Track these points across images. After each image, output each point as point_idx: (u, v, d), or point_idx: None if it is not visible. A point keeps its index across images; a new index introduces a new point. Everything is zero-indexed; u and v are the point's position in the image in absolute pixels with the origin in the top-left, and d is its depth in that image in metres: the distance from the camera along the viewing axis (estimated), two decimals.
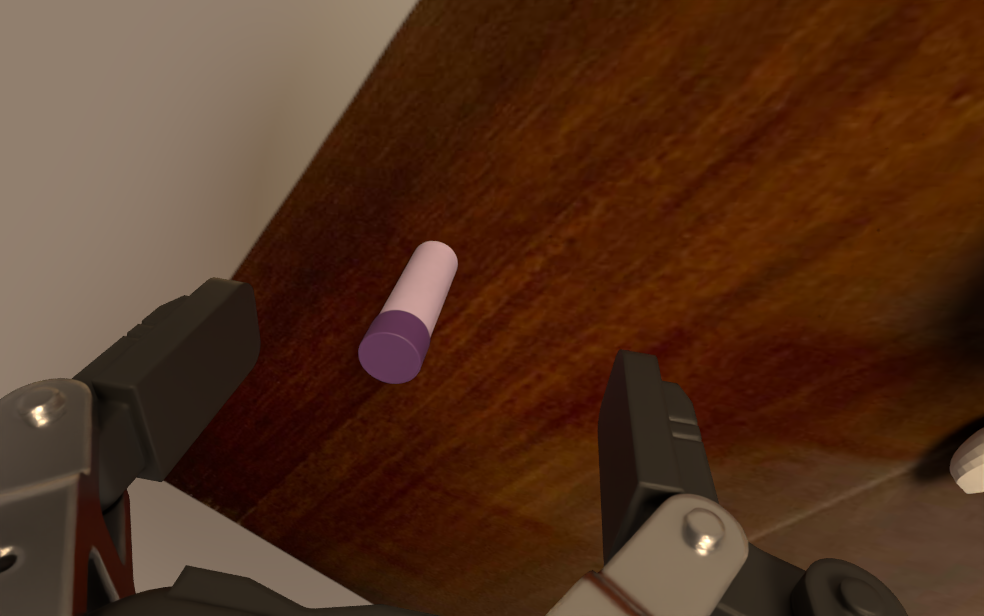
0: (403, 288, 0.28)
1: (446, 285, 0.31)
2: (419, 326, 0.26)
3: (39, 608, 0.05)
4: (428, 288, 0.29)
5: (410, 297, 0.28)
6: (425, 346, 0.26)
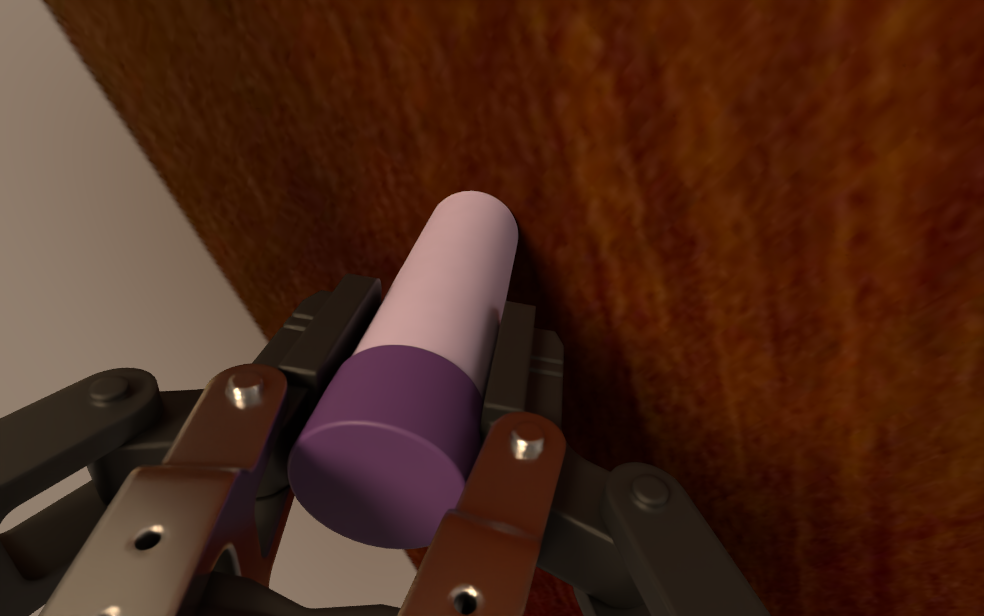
0: None
1: (470, 240, 0.14)
2: (379, 361, 0.09)
3: (152, 603, 0.05)
4: (410, 277, 0.12)
5: (370, 325, 0.11)
6: (424, 388, 0.09)
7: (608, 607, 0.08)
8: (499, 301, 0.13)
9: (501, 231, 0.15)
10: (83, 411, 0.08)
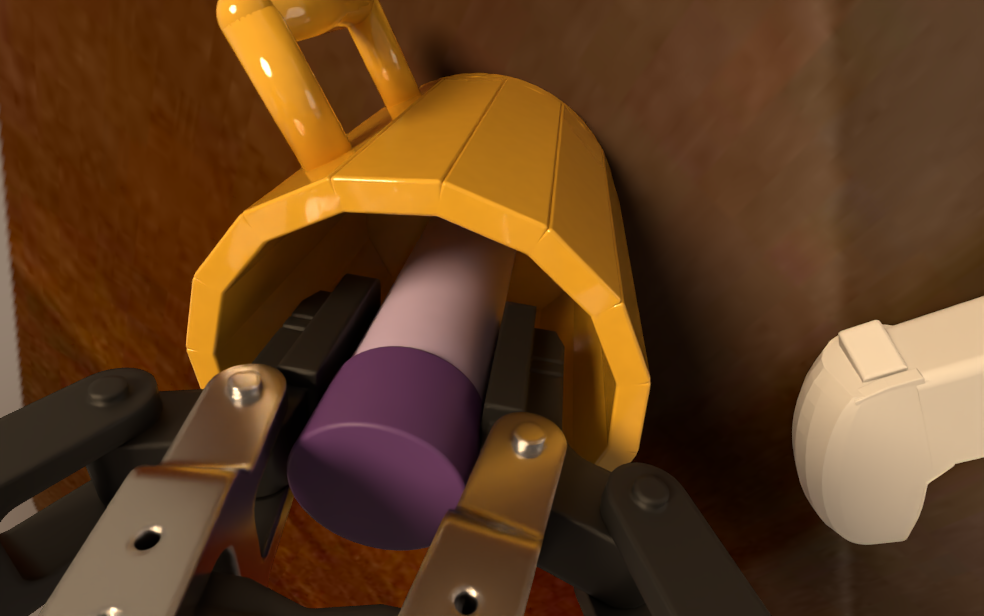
0: None
1: (470, 241, 0.14)
2: (379, 362, 0.09)
3: (151, 603, 0.05)
4: (410, 278, 0.12)
5: (370, 326, 0.11)
6: (423, 389, 0.09)
7: (609, 607, 0.08)
8: (499, 302, 0.13)
9: None
10: (82, 411, 0.08)
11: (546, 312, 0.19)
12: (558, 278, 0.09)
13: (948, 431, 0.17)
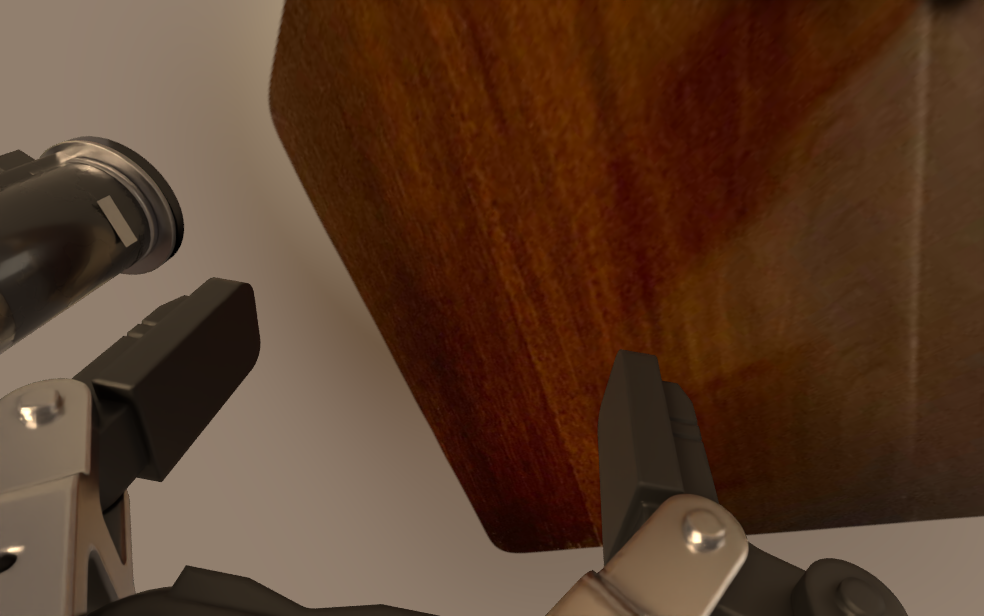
0: None
1: None
2: None
3: (39, 608, 0.05)
4: None
5: None
6: None
7: None
8: None
9: None
10: None
11: None
12: None
13: None
